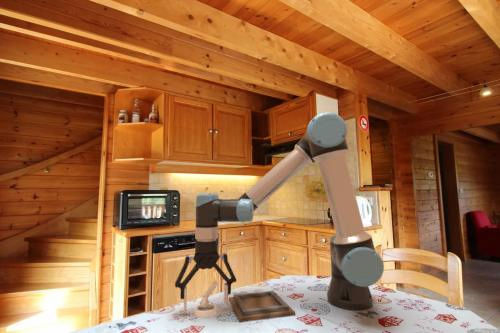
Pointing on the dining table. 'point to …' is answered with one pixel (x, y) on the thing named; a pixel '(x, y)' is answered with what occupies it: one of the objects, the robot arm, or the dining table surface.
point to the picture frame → (259, 306)
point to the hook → (206, 304)
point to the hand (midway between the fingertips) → (205, 306)
